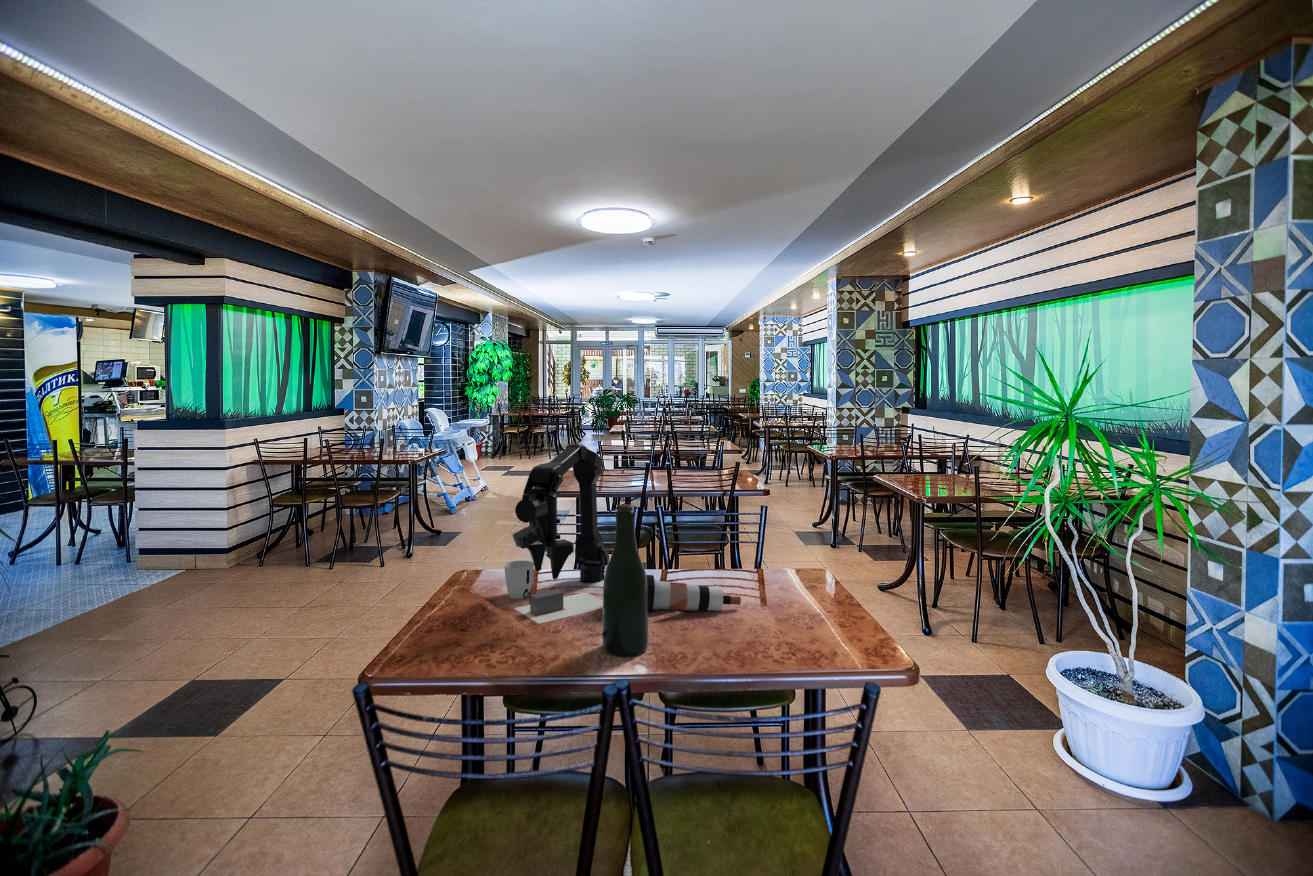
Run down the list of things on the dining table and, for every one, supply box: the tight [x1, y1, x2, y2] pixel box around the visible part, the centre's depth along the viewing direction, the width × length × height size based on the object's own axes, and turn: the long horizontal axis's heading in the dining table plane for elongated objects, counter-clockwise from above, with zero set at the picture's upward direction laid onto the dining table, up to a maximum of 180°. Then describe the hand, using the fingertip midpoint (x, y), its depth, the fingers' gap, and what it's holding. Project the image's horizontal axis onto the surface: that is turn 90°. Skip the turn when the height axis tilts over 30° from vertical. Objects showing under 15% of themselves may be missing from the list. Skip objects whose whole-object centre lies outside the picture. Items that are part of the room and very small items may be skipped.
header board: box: [513, 592, 603, 625], centre depth 173 cm, size 22×14×4 cm, turn 127°
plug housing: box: [529, 588, 564, 616], centre depth 170 cm, size 8×3×4 cm, turn 127°
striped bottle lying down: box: [646, 574, 742, 614], centre depth 173 cm, size 10×34×10 cm, turn 97°
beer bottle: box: [601, 503, 649, 657], centre depth 147 cm, size 10×10×33 cm
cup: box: [503, 559, 535, 600], centre depth 182 cm, size 8×8×10 cm
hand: (546, 574), depth 169 cm, fingers open, 9 cm apart
